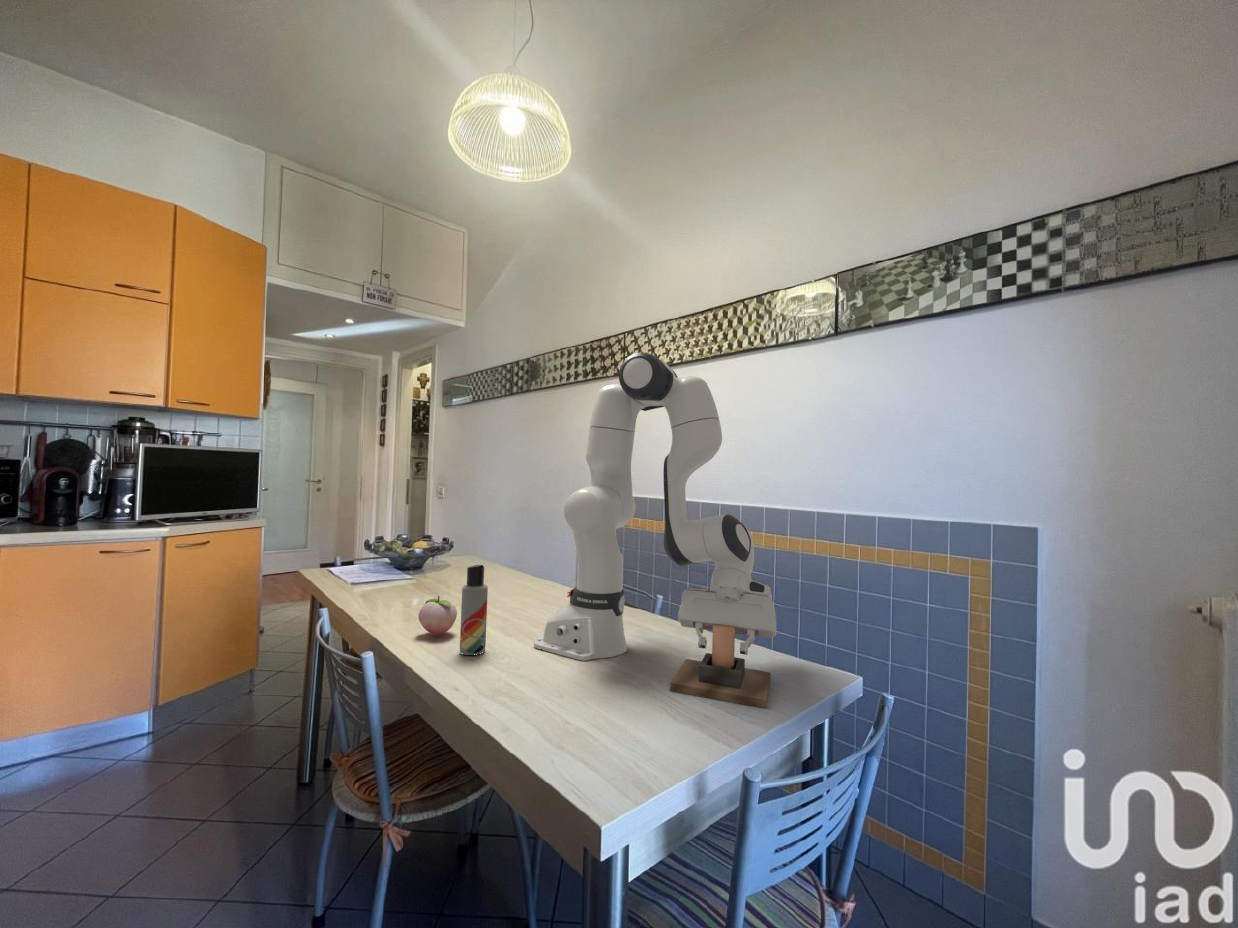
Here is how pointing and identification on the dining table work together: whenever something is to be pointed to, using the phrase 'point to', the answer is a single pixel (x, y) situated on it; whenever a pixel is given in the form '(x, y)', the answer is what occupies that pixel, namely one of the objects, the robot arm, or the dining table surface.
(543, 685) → the dining table surface
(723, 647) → the peg
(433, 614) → the decorative fruit
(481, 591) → the lotion bottle
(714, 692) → the collar stand
